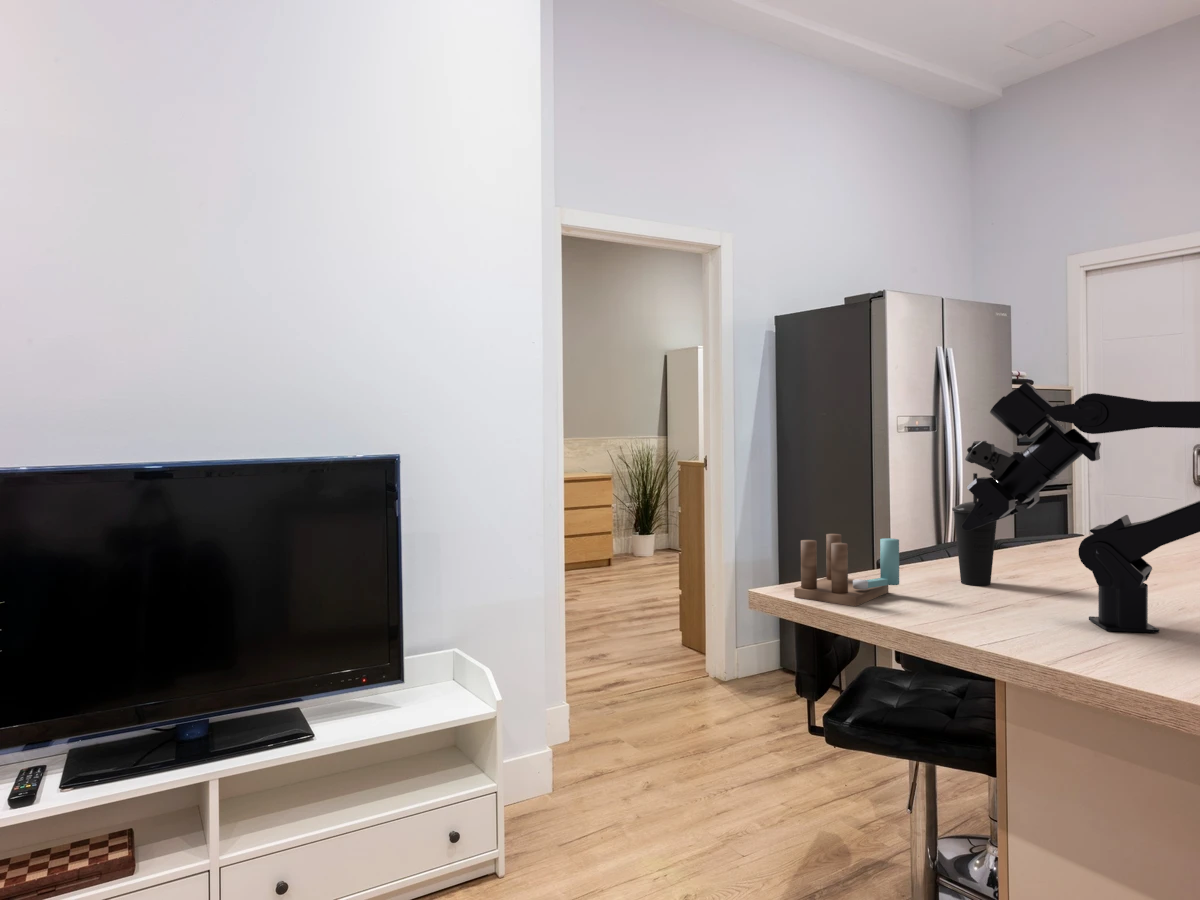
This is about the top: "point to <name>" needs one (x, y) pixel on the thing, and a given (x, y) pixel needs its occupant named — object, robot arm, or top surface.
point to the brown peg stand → (831, 575)
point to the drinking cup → (974, 547)
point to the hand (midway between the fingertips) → (964, 528)
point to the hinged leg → (884, 566)
